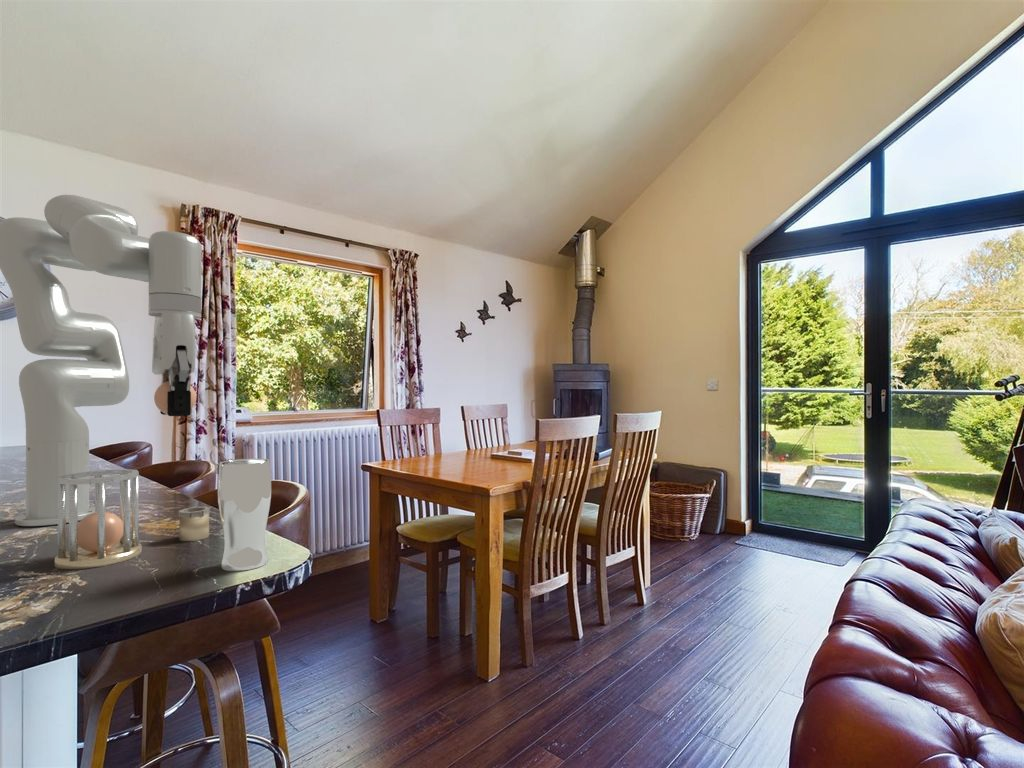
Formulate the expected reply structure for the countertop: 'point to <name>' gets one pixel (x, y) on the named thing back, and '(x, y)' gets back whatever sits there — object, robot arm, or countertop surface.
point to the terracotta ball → (161, 396)
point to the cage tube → (98, 520)
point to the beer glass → (244, 512)
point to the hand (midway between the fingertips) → (175, 413)
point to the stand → (194, 523)
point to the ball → (89, 531)
